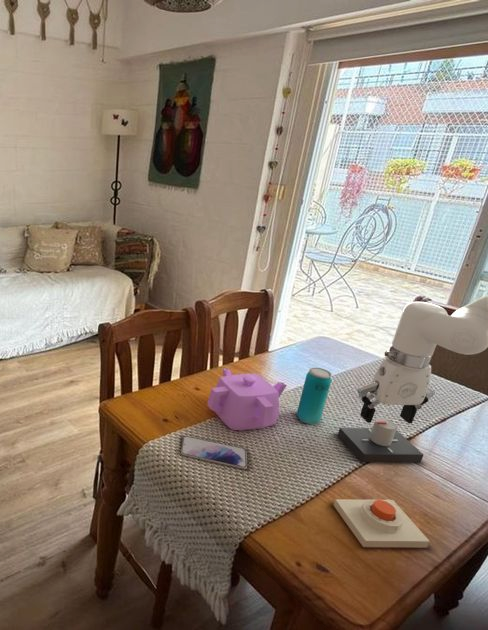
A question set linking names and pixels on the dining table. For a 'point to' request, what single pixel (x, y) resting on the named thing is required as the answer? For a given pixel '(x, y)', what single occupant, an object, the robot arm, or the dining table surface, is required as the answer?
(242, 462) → the smartphone
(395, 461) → the panel
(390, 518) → the button
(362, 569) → the dining table surface
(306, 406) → the beverage can
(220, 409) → the teakettle
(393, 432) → the timer knob
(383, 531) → the block
